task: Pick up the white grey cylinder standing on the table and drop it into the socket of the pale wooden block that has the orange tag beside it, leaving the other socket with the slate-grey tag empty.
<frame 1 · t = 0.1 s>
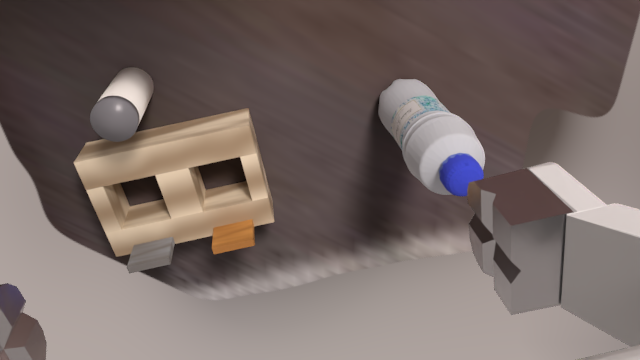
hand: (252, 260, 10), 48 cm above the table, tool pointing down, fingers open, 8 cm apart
bottle: (401, 100, 60), on the table
socket block: (184, 172, 61), on the table
white grey cylinder: (134, 85, 56), on the table
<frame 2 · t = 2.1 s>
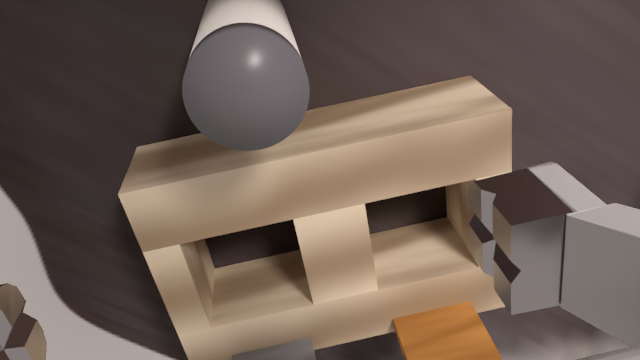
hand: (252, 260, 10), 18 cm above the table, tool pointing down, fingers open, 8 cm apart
socket block: (324, 205, 31), on the table
white grey cylinder: (245, 23, 26), on the table
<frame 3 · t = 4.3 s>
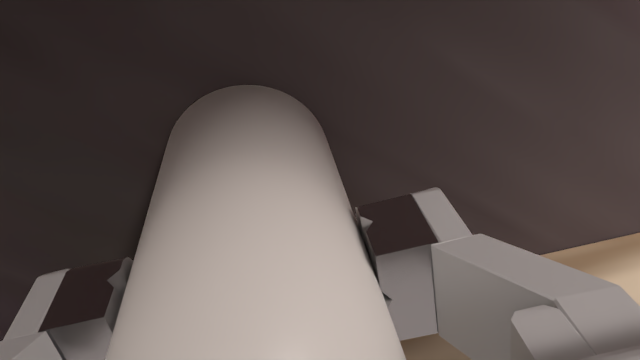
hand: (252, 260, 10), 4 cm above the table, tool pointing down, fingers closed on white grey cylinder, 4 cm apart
white grey cylinder: (249, 162, 13), on the table, touching gripper
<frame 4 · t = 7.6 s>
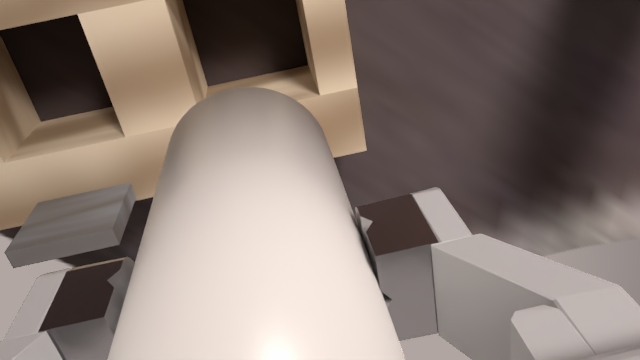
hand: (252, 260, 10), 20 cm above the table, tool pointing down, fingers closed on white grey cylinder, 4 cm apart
socket block: (159, 42, 27), on the table
white grey cylinder: (250, 164, 13), point 16 cm above the table, touching gripper
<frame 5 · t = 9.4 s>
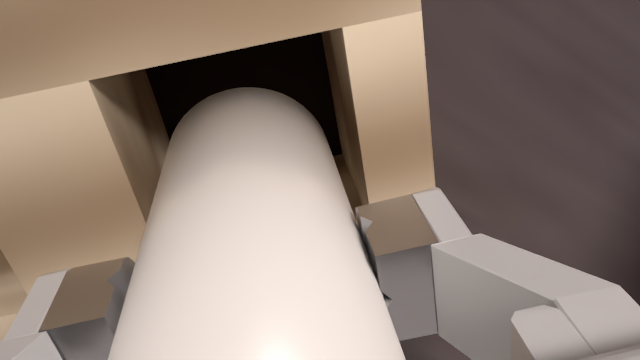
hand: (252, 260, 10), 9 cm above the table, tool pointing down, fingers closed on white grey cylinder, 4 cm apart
socket block: (106, 126, 17), on the table
white grey cylinder: (250, 164, 13), point 5 cm above the table, touching gripper
when the fingers open (7 cm above the table, at t = 10.7 s): white grey cylinder drops 2 cm, resting in socket block.
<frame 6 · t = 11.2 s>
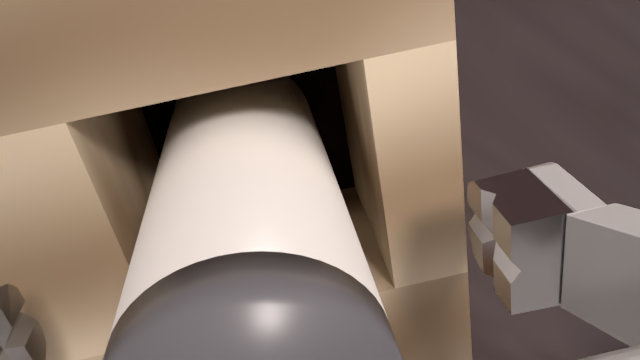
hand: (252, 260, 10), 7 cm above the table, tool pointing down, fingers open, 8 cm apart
socket block: (94, 158, 15), on the table
white grey cylinder: (243, 127, 15), resting in socket block
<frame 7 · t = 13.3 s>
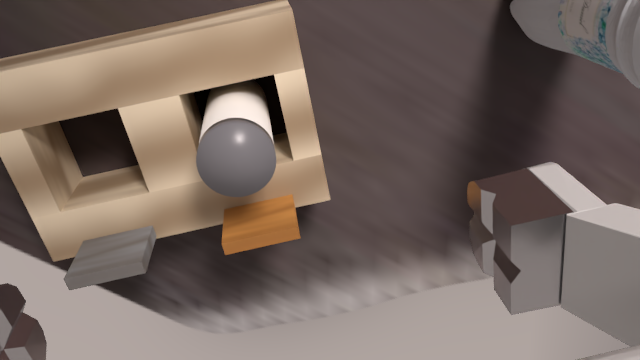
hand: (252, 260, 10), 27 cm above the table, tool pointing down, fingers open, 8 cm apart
socket block: (174, 117, 36), on the table
white grey cylinder: (237, 104, 36), resting in socket block
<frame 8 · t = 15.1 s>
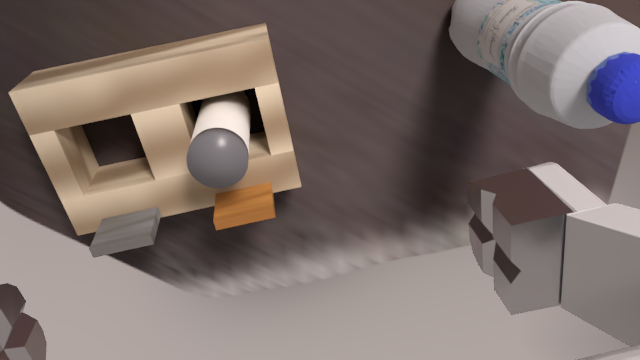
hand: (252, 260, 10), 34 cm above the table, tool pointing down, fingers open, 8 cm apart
bottle: (478, 16, 43), on the table
socket block: (174, 118, 43), on the table
white grey cylinder: (226, 108, 44), resting in socket block
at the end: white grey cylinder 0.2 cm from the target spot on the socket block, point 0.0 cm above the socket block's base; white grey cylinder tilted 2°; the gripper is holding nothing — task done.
